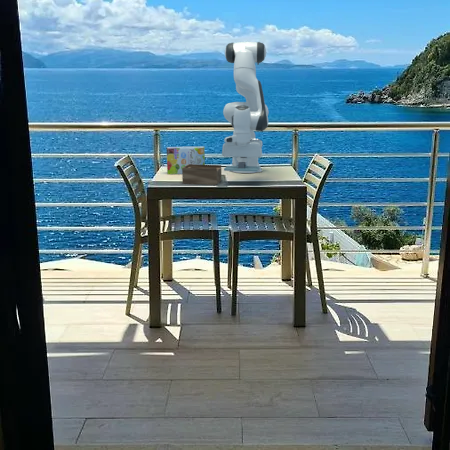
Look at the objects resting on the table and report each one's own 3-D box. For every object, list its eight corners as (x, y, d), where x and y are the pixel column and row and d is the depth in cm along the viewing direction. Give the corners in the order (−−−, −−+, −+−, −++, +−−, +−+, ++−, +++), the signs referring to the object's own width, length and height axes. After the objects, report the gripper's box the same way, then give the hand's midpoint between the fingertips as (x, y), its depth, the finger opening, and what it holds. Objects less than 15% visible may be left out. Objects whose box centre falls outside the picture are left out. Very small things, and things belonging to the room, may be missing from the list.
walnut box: (188, 179, 311) (188, 164, 309) (221, 180, 308) (221, 165, 306) (182, 183, 300) (182, 167, 298) (216, 184, 297) (216, 168, 295)
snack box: (204, 172, 333) (204, 146, 329) (204, 174, 327) (204, 147, 323) (167, 172, 332) (166, 146, 328) (167, 174, 327) (166, 147, 323)
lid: (227, 167, 304) (227, 160, 303) (259, 168, 301) (259, 161, 300) (224, 170, 295) (224, 163, 294) (256, 171, 292) (256, 164, 291)
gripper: (263, 138, 295) (263, 165, 299) (223, 137, 299) (223, 164, 303) (261, 139, 289) (261, 167, 293) (221, 138, 293) (221, 166, 297)
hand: (241, 165), depth 298 cm, fingers closed on lid, 3 cm apart
